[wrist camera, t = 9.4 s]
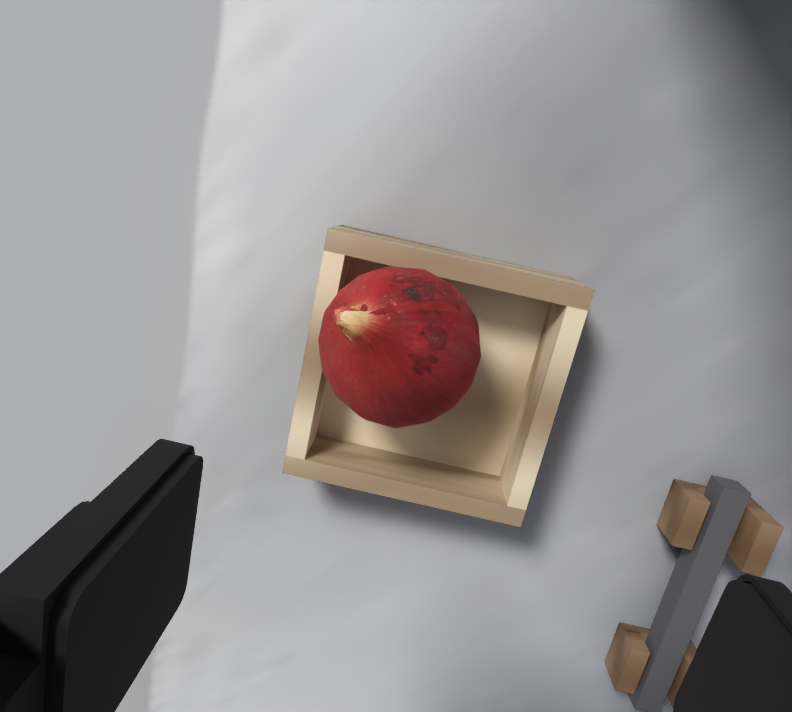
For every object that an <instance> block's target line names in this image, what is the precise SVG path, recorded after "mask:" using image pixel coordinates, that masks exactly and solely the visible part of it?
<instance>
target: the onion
mask: <svg viewBox="0 0 792 712" xmlns="http://www.w3.org/2000/svg"><path fill="white" fill-rule="evenodd" d="M318 344H319V352H320V361H321V367H322V370H323V373H324V375H325V376H326V378H327V380H328V382H329V384H330V386H331V387H332V389H333V391H334V393H335V395H336V396H337V397H338V398H339V399H340V400H341V401H342V402H344V403H345V404H346V405H347V406H348V407H349V408H350V409H352V410H353V411H354V412H355V413H356V414H357V415H359V416H360V417H362V418H363V419H365V420H367V421H371V422H374V423H378V424H381V425H385V426H388V427H392V428H395V429H396V428H401V427H406V426H412V425H417V424H422V423H427V422H430V421H432V420H434V419H435V418H437V417H439V416H441V415H442V414H444V413H446V412H447V411H449V410H451V409H452V408H454V407H455V406H456V404H457V403H458V402H459V401H460V399H461V398H462V397H463V396H464V395H465V393H466V392H467V391H468V390H469V388H470V387H471V386H472V383H473V380H474V377H475V374H476V371H477V368H478V364H479V361H480V358H481V349H480V337H479V325H478V322H477V318H476V316H475V315H474V313H473V311H472V310H471V308H470V307H469V305H468V304H467V302H466V300H465V299H464V297H463V296H462V294H461V293H460V291H459V290H458V289H457V288H456V287H454V286H453V285H452V284H450V283H448V282H447V281H445V280H443V279H441V278H439V277H438V276H436V275H434V274H432V273H430V272H429V271H427V270H425V269H417V268H404V267H392V266H388V267H384V268H381V269H377V270H374V271H371V272H368V273H365V274H361V275H359V276H357V277H356V278H355V279H354V280H352V281H351V282H350V283H349V284H347V285H346V286H345V287H344V288H342V289H341V290H340V291H339V292H338V293H337V295H336V296H335V297H334V299H333V300H332V302H331V303H330V305H329V306H328V307H327V309H326V310H325V312H324V315H323V319H322V324H321V329H320V333H319V338H318Z"/></svg>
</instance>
